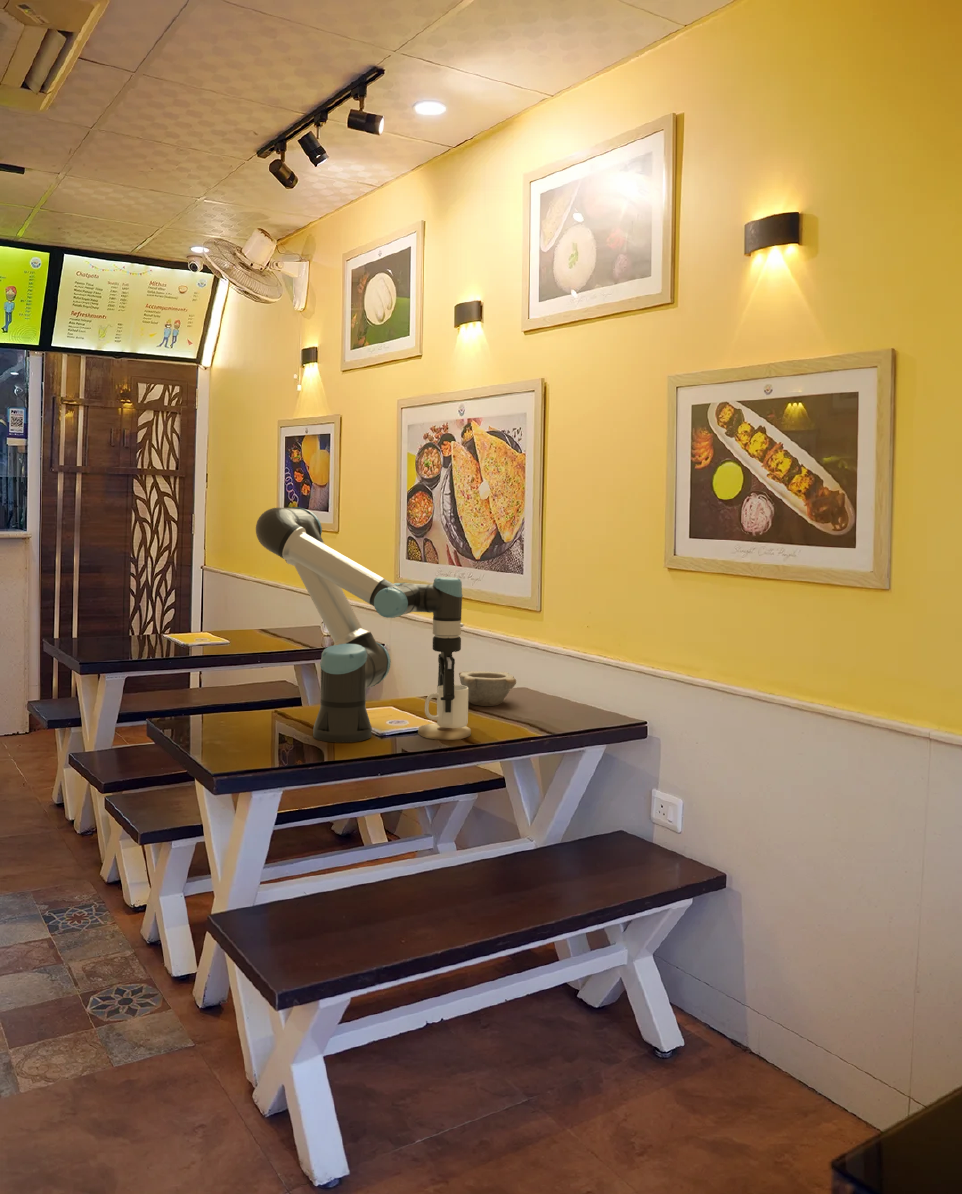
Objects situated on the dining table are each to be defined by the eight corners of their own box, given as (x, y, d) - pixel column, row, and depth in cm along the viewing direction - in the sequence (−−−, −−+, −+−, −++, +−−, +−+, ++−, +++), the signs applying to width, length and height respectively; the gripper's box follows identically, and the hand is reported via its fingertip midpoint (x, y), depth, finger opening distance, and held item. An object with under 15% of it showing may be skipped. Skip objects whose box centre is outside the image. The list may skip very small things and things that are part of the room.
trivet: (420, 740, 259) (421, 735, 259) (415, 727, 273) (415, 723, 273) (474, 739, 261) (474, 734, 261) (466, 727, 275) (466, 722, 275)
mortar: (509, 698, 318) (510, 669, 317) (516, 709, 302) (517, 679, 301) (456, 697, 317) (457, 669, 316) (461, 708, 300) (462, 678, 299)
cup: (472, 727, 265) (473, 689, 264) (430, 730, 260) (430, 692, 259) (460, 720, 272) (461, 683, 272) (419, 723, 268) (419, 686, 267)
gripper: (466, 641, 255) (464, 729, 257) (455, 630, 275) (453, 712, 278) (437, 641, 254) (435, 729, 256) (428, 630, 274) (426, 712, 276)
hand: (445, 720), depth 267 cm, fingers closed on cup, 8 cm apart
